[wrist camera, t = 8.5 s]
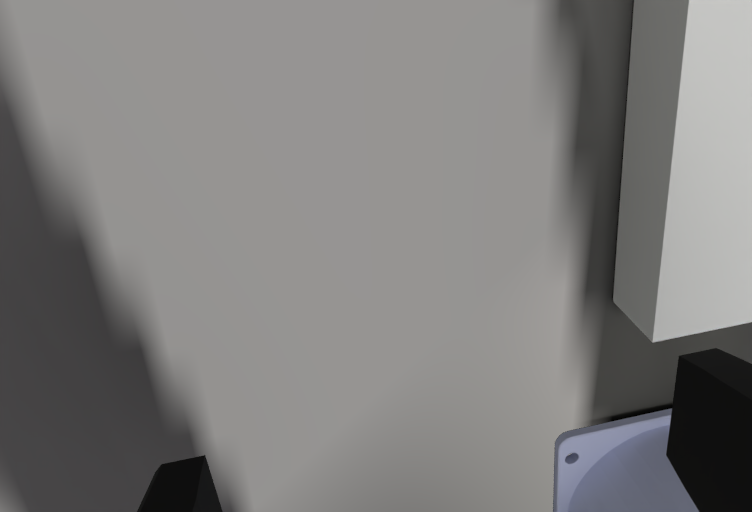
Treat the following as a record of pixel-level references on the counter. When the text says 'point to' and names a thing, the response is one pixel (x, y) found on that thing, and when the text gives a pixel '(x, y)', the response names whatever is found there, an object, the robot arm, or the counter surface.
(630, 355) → the counter surface
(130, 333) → the counter surface
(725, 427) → the robot arm
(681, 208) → the deck
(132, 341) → the counter surface
